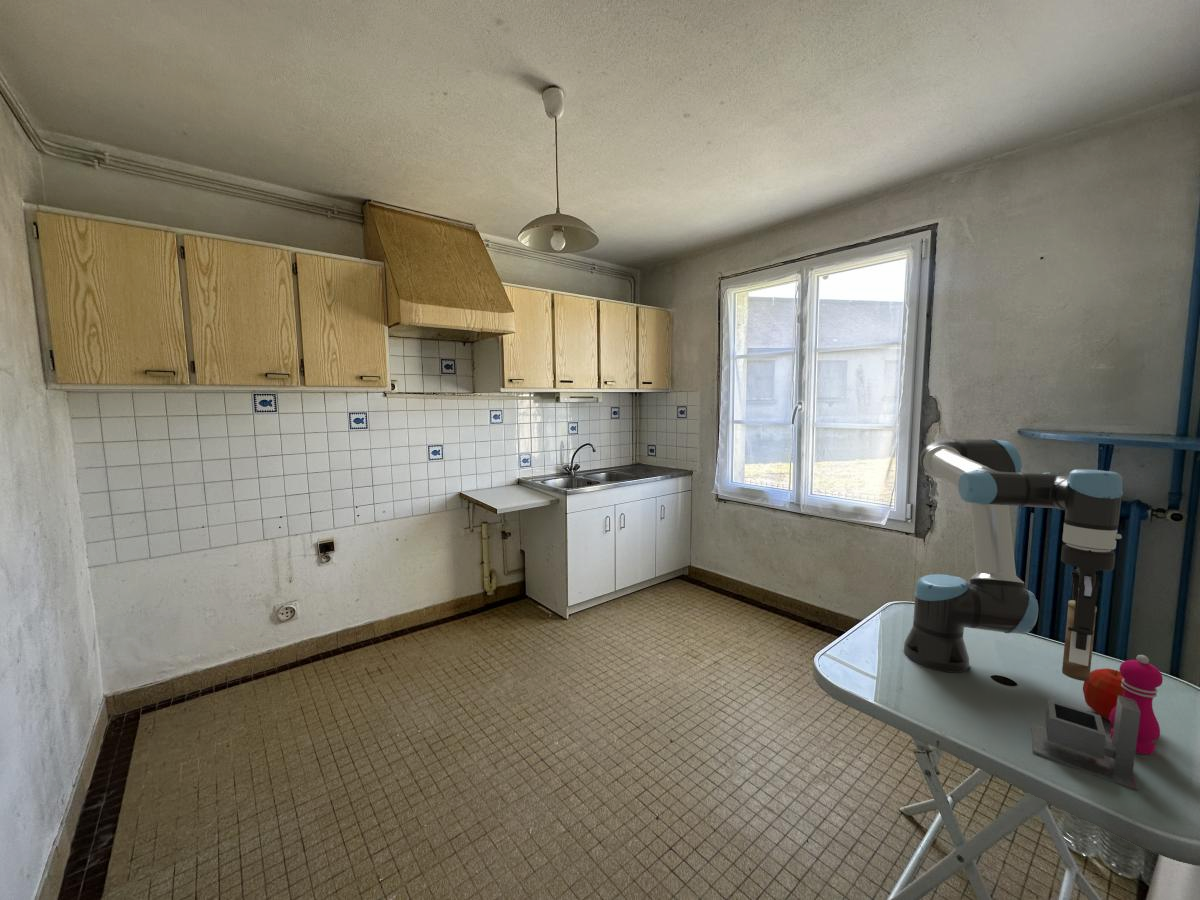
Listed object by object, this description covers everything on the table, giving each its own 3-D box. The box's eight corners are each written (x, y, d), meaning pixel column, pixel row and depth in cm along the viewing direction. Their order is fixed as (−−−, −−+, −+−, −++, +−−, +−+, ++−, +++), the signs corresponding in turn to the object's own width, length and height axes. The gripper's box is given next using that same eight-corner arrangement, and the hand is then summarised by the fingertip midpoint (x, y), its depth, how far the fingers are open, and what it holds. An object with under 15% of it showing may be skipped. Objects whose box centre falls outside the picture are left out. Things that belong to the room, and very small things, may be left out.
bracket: (1033, 753, 99) (1040, 689, 98) (1031, 726, 107) (1037, 667, 106) (1136, 790, 90) (1146, 721, 88) (1126, 757, 98) (1134, 693, 96)
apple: (1072, 698, 117) (1077, 654, 116) (1129, 711, 113) (1135, 664, 112) (1090, 723, 109) (1096, 675, 107) (1153, 737, 104) (1160, 687, 103)
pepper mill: (1097, 733, 105) (1107, 647, 103) (1126, 731, 106) (1137, 645, 104) (1136, 757, 98) (1148, 665, 96) (1168, 755, 99) (1180, 664, 96)
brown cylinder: (1062, 675, 98) (1069, 604, 97) (1061, 667, 101) (1067, 598, 100) (1090, 683, 95) (1098, 610, 94) (1088, 675, 98) (1095, 604, 97)
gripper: (1122, 560, 87) (1109, 683, 89) (1109, 542, 100) (1098, 649, 102) (1065, 552, 92) (1054, 668, 94) (1060, 535, 105) (1050, 638, 106)
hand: (1077, 658), depth 98 cm, fingers closed on brown cylinder, 4 cm apart
